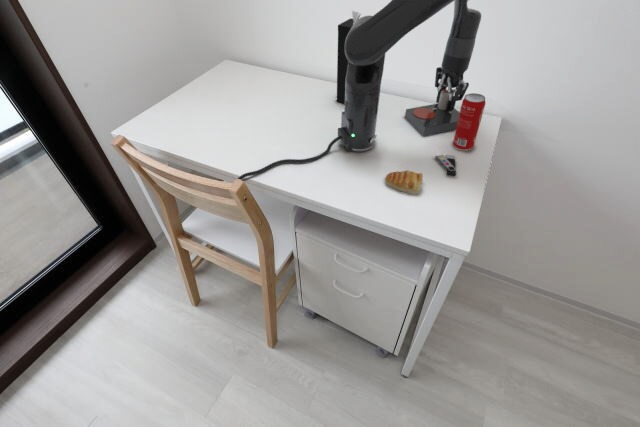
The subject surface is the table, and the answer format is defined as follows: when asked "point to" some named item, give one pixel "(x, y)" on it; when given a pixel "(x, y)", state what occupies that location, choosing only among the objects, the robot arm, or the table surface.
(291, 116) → the table surface
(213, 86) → the table surface
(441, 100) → the hob knob
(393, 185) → the pastry
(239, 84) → the table surface
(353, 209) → the table surface
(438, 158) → the usb flash drive
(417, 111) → the burner
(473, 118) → the beverage can
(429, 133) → the hob
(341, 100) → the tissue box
